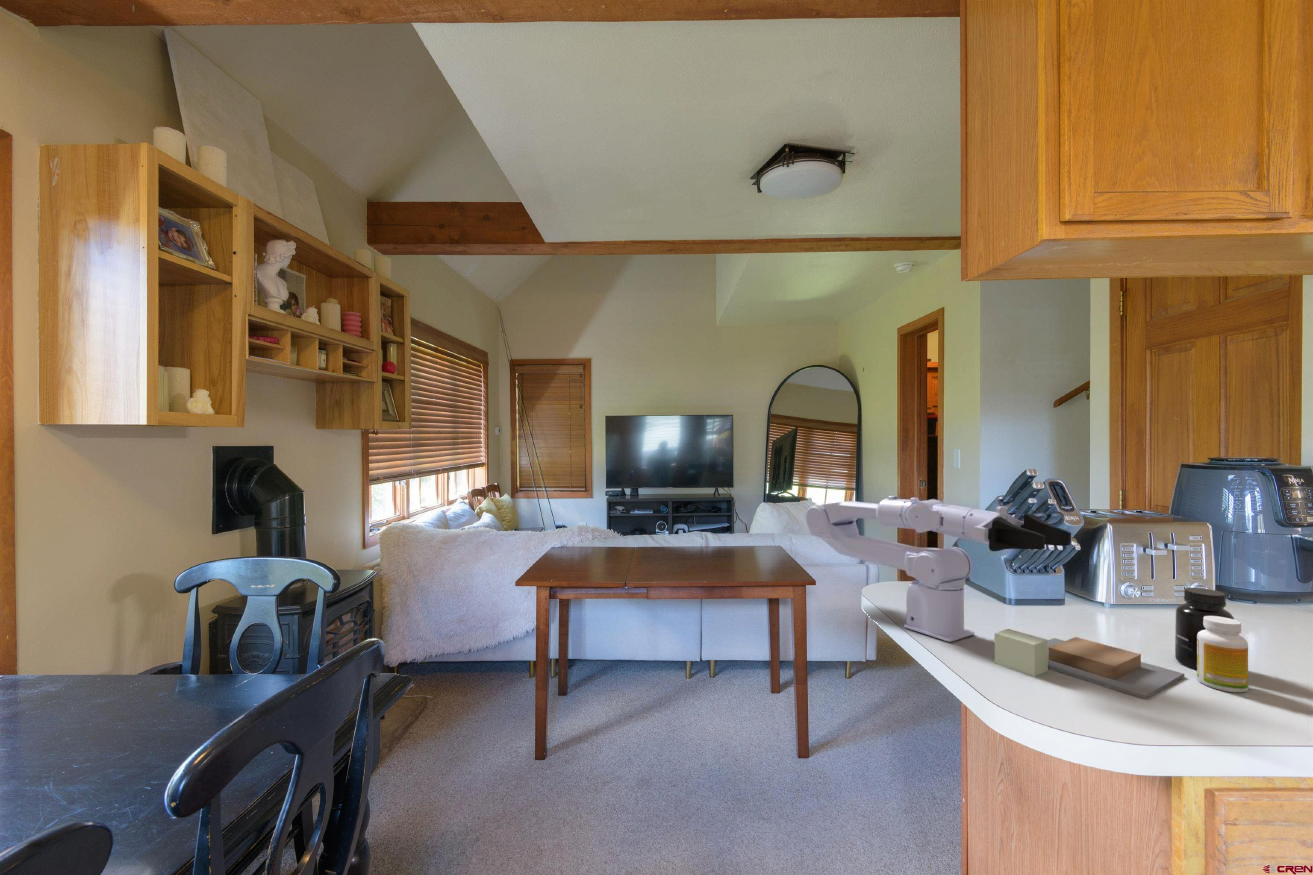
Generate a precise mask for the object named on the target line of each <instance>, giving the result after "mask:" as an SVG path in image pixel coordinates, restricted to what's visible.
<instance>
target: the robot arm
mask: <svg viewBox="0 0 1313 875" xmlns="http://www.w3.org/2000/svg"><path fill="white" fill-rule="evenodd" d="M995 510H996V511H990V510H984V509H980V508H979V509H978V508H974V507H969V506H963V505H956V504H946V503H945V502H944V501H942V500H940V499H939V500H937V499H935V498H931V499H928V500H927V499H926V500H920V498H919V497H911V498H909V499H907V498H906V499H904V498H902V499H901V498H899V496H898V495H889V496H888V498H884V499H882V500H881V501H880V502H879V503H875V502H874V503H873V502H866V501H865V502H864V501H854V500H848V501H847V500H846V501H837V502H829V503H823V504H812V505H810V506H809V507H808V508H807V510H806V514H805V521H806V524H807V526H808V529H809V531H810V533H811V535H813V536H814V537H816V538H819V539H821V540H822V541H824V542H825V543H826V544H827V545H828V546H830V548H832V549H833V550H834V551H835V552H836V553H837V554H839V555H843V556H845V557H850V558H854V559H858V560H862V561H865V562H870V563H873V564H876V565H877V564H878V565H881V566H885V567H886V566H887V567H889V568H893V569H897V570H902V571H905V573H906V575H907V576H908V577H912V578H914V579H915V580H912V581H911V583H909V585H908V587H907V590H906V624H904V625H903V627H904V628H905V629H907V630H911V631H915V632H916V633H917V632H918V633H921V634H924V635H927V636H930V637H933V638H936V639H939V640H942V641H945V642H954V641H957V640H960V639H963V638H967V637H970V636H973V635H975V631H973V630H971V629H968V628H965V585H966V579H968V577H970V575H971V574H972V571H973V562H972V560H971V557H970V555H969V554H968V553H967V552H966V551H965V550H964V549H963V548H960V547H957V546H949V547H946V548H938V547H920V546H914V545H909V544H904V543H899V542H895V541H889V540H886V539H882V538H881V539H879V538H875V537H870V536H865V535H860V533H859V532H860V531H859V529H858V526H857V520H858V519H867V520H868V519H869V520H878V521H879V523H880V524H881V525H882V526H885V527H890V528H900V529H909V530H915V531H916V533H919V534H920V533H926V532H929V531H930V532H931V531H932V532H935V533H939V534H944V535H946V536H950V537H954V538H959V539H963V540H968V541H972V542H976V543H982V544H986V545H988V549H989V550H990V552H1000V551H1003V550H1004V551H1005V550H1029V551H1030V550H1034V551H1037V550H1038V551H1041V550H1045V549H1046V548H1045V547H1046V545H1047V546H1060V547H1062V546H1063V547H1065V546H1071V541H1072V533H1071V532H1070V531H1068V530H1066V529H1063V528H1060V527H1057V526H1055V525H1052V524H1050V523H1048V522H1046V521H1044V520H1043V519H1041V518H1040V517H1038V516H1037V515H1035V514H1033V513H1024V515H1023V521H1022V520H1020V519H1018V518H1016V517H1015V516H1014V515H1013V516H1012V515H1011V514H1009V513H1008V507H1007V506H1003V505H1002V506H997V507H996V509H995Z"/></svg>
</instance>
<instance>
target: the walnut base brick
mask: <svg viewBox="0 0 1313 875" xmlns="http://www.w3.org/2000/svg"><path fill="white" fill-rule="evenodd" d="M1063 641H1064V642H1061V643H1059V644H1056V645H1054V646H1051V647H1049V660H1052V661H1055V662H1058V663H1061V664H1065V665H1068V666H1071V667H1074V668H1078V669H1081V670H1084V671H1087V672H1091V673H1094V674H1097V675H1101V676H1104V677H1107V678H1110V679H1114V680H1115V679H1117V678H1120V677H1122V676H1124V675H1126V674H1128V673H1130V672H1132V671H1134V670H1136V669H1138V668H1140V667H1141V662H1142V654H1141V653H1137V652H1134V651H1130V650H1126V649H1123V648H1120V647H1119V648H1118V647H1115V646H1110V645H1108V644H1104V643H1099V642H1096V641H1092V640H1088V639H1085V638H1080V637H1077V636H1076V637H1075V636H1074V637H1071V638H1070V639H1069V638H1068V639H1067V640H1063Z"/></svg>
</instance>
